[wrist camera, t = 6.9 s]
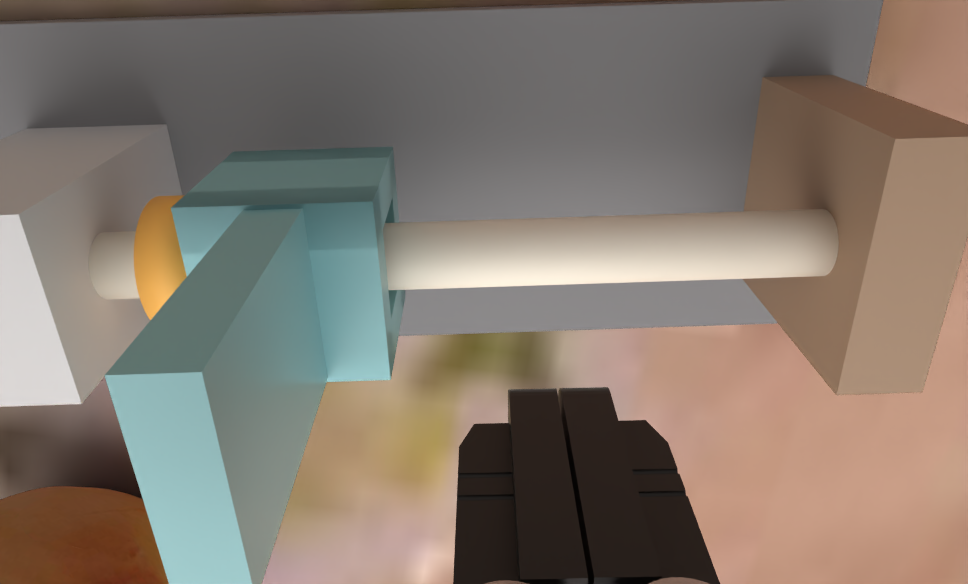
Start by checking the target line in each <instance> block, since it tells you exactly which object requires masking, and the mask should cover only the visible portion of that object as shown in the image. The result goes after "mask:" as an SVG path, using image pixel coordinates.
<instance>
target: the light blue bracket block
mask: <svg viewBox="0 0 968 584" xmlns="http://www.w3.org/2000/svg"><path fill="white" fill-rule="evenodd" d="M171 211H172V215H173V220H174V224H175V228H176V233H177V237H178V241H179V246H180V250H181V254H182V258H183V263H184V267H185V271H186V276H187V277H186V278H185V280H184V281H183V282H182V283H181V284H180V286H179V287H178V288H177V289H176V290H175V292H174V293H173V294H172V295H171V296H170V298H169V299H168V300H167V301H166V302H165V304H164V305H163V306H162V307H161V308H160V310H159V311H158V312H157V313H156V314H155V316H154V317H153V318H152V319H151V320H150V321H149V323H148V324H147V325H146V326H145V327H144V329H143V330H142V331H141V332H140V333H139V335H138V336H137V337H136V338H135V339H134V341H133V342H132V343H131V344H130V345H129V347H128V348H127V349H126V350H125V351H124V353H123V354H122V355H121V356H120V357H119V359H118V360H117V361H116V362H115V363H114V365H113V366H112V367H111V368H110V369H109V371H108V372H107V373H106V374H105V375H104V376H105V379H106V382H107V385H108V389H109V392H110V395H111V398H112V402H113V405H114V408H115V411H116V414H117V418H118V421H119V424H120V427H121V431H122V434H123V437H124V440H125V443H126V447H127V450H128V453H129V456H130V460H131V463H132V466H133V469H134V473H135V476H136V479H137V482H138V485H139V489H140V492H141V495H142V498H143V502H144V505H145V508H146V511H147V514H148V518H149V521H150V524H151V527H152V531H153V534H154V537H155V540H156V544H157V547H158V550H159V553H160V556H161V560H162V563H163V566H164V569H165V573H166V576H167V579H168V582H169V584H262V581H263V578H264V575H265V572H266V569H267V566H268V562H269V559H270V556H271V553H272V550H273V547H274V544H275V541H276V538H277V534H278V531H279V528H280V525H281V522H282V519H283V516H284V513H285V510H286V506H287V503H288V500H289V497H290V494H291V491H292V488H293V485H294V481H295V478H296V475H297V472H298V469H299V466H300V463H301V460H302V457H303V453H304V450H305V447H306V444H307V441H308V438H309V435H310V432H311V429H312V425H313V422H314V419H315V416H316V413H317V410H318V407H319V404H320V401H321V397H322V394H323V391H324V388H325V385H326V382H339V381H369V380H391V375H392V370H393V364H394V358H395V353H396V347H397V341H398V336H399V330H400V324H401V319H402V313H403V307H404V302H405V290H388V280H387V269H386V259H385V248H384V238H383V228H384V224H385V223H399V213H398V201H397V189H396V177H395V166H394V154H393V147H363V148H331V149H300V150H268V151H236V152H232V153H231V154H230V155H229V156H228V157H227V158H226V159H225V160H223V161H222V162H221V163H220V164H219V165H218V166H217V167H216V168H215V169H213V170H212V171H211V172H210V173H209V174H208V175H207V176H206V177H205V178H203V179H202V180H201V181H200V182H199V183H198V184H197V185H196V186H195V187H193V188H192V189H191V190H190V191H189V192H188V193H187V194H186V195H185V196H183V197H182V198H181V199H180V200H179V201H178V202H177V203H176V204H174V205H173V206H172V207H171Z"/></svg>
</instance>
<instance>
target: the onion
mask: <svg viewBox="0 0 968 584" xmlns="http://www.w3.org/2000/svg"><path fill="white" fill-rule="evenodd" d="M0 584H169V582H168V579H167V576H166V573H165V569H164V566H163V563H162V560H161V556H160V553H159V550H158V547H157V544H156V540H155V537H154V534H153V531H152V527H151V524H150V521H149V518H148V514H147V511H146V508H145V505H144V502H143V499H141V498H138V497H136V496H133V495H130V494H127V493H123V492H118V491H114V490H110V489H103V488H91V487H72V486H53V487H44V488H39V489H33V490H29V491H25V492H22V493H19V494H15V495H12V496H9V497H7V498H4V499H1V500H0Z"/></svg>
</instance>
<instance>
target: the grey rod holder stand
mask: <svg viewBox="0 0 968 584" xmlns="http://www.w3.org/2000/svg"><path fill="white" fill-rule="evenodd" d="M882 5H883V0H688V1H655V2H623V3H590V4H557V5H524V6H491V7H458V8H425V9H392V10H359V11H326V12H293V13H260V14H227V15H194V16H161V17H128V18H95V19H62V20H29V21H0V407H6V406H35V405H65V404H82V403H83V402H84V401H85V399H86V398H87V397H88V396H89V395H90V393H91V392H92V391H93V390H94V389H95V387H96V386H97V385H98V384H99V383H100V381H101V380H102V379H103V378H104V377H105V376H104V375H105V374H106V373H107V372H108V371H109V369H110V368H111V367H112V366H113V365H114V363H115V362H116V361H117V360H118V359H119V357H120V356H121V355H122V354H123V353H124V351H125V350H126V349H127V348H128V347H129V345H130V344H131V343H132V342H133V341H134V339H135V338H136V337H137V336H138V335H139V333H140V332H141V331H142V330H143V329H144V327H145V326H146V325H147V324H148V323H149V321H150V320H151V319H152V318H153V317H154V316H155V314H156V313H157V312H158V311H159V310H160V308H161V307H162V306H163V305H164V304H165V302H166V301H167V300H168V299H169V298H170V296H171V295H172V294H173V293H174V292H175V290H176V289H177V288H178V287H179V286H180V284H181V283H182V282H183V281H184V280H185V278H186V277H187V276H186V271H185V267H184V263H183V258H182V254H181V250H180V246H179V241H178V237H177V233H176V228H175V224H174V220H173V215H172V211H171V207H172V206H173V205H174V204H176V203H177V202H178V201H179V200H180V199H181V198H182V197H183V196H185V195H186V194H187V193H188V192H189V191H190V190H191V189H192V188H193V187H195V186H196V185H197V184H198V183H199V182H200V181H201V180H202V179H203V178H205V177H206V176H207V175H208V174H209V173H210V172H211V171H212V170H213V169H215V168H216V167H217V166H218V165H219V164H220V163H221V162H222V161H223V160H225V159H226V158H227V157H228V156H229V155H230V154H231V153H232V152H236V151H268V150H300V149H331V148H363V147H393V154H394V166H395V177H396V189H397V201H398V213H399V223H385V224H384V228H383V238H384V248H385V259H386V269H387V280H388V290H405V302H404V307H403V313H402V319H401V324H400V330H399V336H411V335H441V334H471V333H502V332H532V331H562V330H592V329H623V328H653V327H683V326H714V325H744V324H774V323H778V324H779V325H780V326H781V327H782V329H783V330H784V331H785V332H786V334H787V335H788V336H789V337H790V339H791V340H792V341H793V342H794V344H795V345H796V346H797V347H798V348H799V350H800V351H801V352H802V353H803V355H804V356H805V357H806V358H807V360H808V361H809V362H810V363H811V365H812V366H813V367H814V368H815V369H816V371H817V372H818V373H819V374H820V376H821V377H822V378H823V379H824V381H825V382H826V383H827V384H828V386H829V387H830V388H831V389H832V391H833V392H834V393H835V394H836V395H861V394H891V393H921V392H923V388H924V385H925V381H926V378H927V375H928V371H929V368H930V364H931V361H932V358H933V354H934V351H935V347H936V344H937V340H938V337H939V334H940V330H941V327H942V323H943V320H944V317H945V313H946V310H947V306H948V303H949V300H950V296H951V293H952V289H953V286H954V282H955V279H956V276H957V272H958V269H959V265H960V262H961V259H962V255H963V252H964V248H965V245H966V242H967V238H968V125H967V124H964V123H962V122H959V121H956V120H954V119H951V118H948V117H945V116H943V115H940V114H937V113H935V112H932V111H929V110H927V109H924V108H921V107H918V106H916V105H913V104H910V103H908V102H905V101H902V100H899V99H897V98H894V97H891V96H889V95H886V94H883V93H880V92H878V91H875V90H872V89H870V88H867V87H866V83H867V78H868V73H869V68H870V63H871V58H872V53H873V49H874V44H875V39H876V34H877V29H878V24H879V19H880V14H881V9H882Z"/></svg>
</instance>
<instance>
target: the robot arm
mask: <svg viewBox="0 0 968 584" xmlns="http://www.w3.org/2000/svg"><path fill="white" fill-rule="evenodd" d="M453 584H720V582H719V580H718V577H717V575H716V572H715V569H714V567H713V564H712V561H711V558H710V556H709V553H708V550H707V548H706V545H705V542H704V539H703V537H702V534H701V531H700V529H699V526H698V523H697V520H696V518H695V515H694V512H693V510H692V507H691V504H690V501H689V499H688V496H686V493H685V488H684V485H683V482H682V480H681V477H680V474H678V472H677V466H676V463H675V461H674V458H673V455H672V453H671V450H670V447H669V444H668V442H667V441H666V440H665V439H664V438H663V437H662V436H661V435H660V434H659V433H658V432H657V431H656V430H655V429H654V428H653V427H652V426H651V425H650V424H649V423H648V422H647V421H646V420H636V421H618V418H617V415H616V411H615V408H614V404H613V400H612V397H611V393H610V390H609V388H608V387H603V388H560V389H559V393H558V394H557V390H556V389H513V390H508V423H495V424H474V425H473V427H472V428H471V430H470V431H469V433H468V434H467V436H466V437H465V439H464V440H463V442H462V443H461V445H460V446H459V465H458V488H457V512H456V535H455V558H454V582H453Z"/></svg>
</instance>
